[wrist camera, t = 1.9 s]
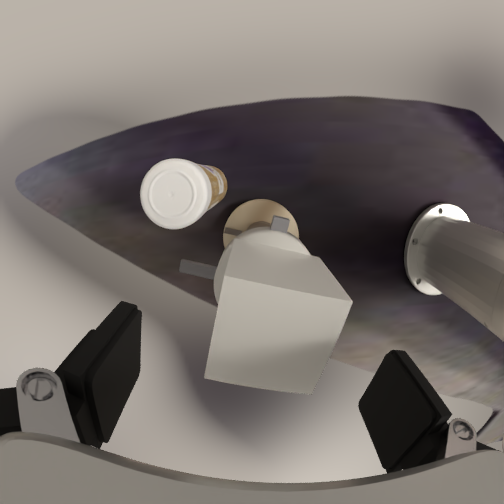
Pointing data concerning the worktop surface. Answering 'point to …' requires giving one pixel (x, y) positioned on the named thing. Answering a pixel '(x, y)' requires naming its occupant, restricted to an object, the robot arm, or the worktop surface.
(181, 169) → the sprinkles bottle
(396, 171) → the worktop surface
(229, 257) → the coupling cap
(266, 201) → the post base
